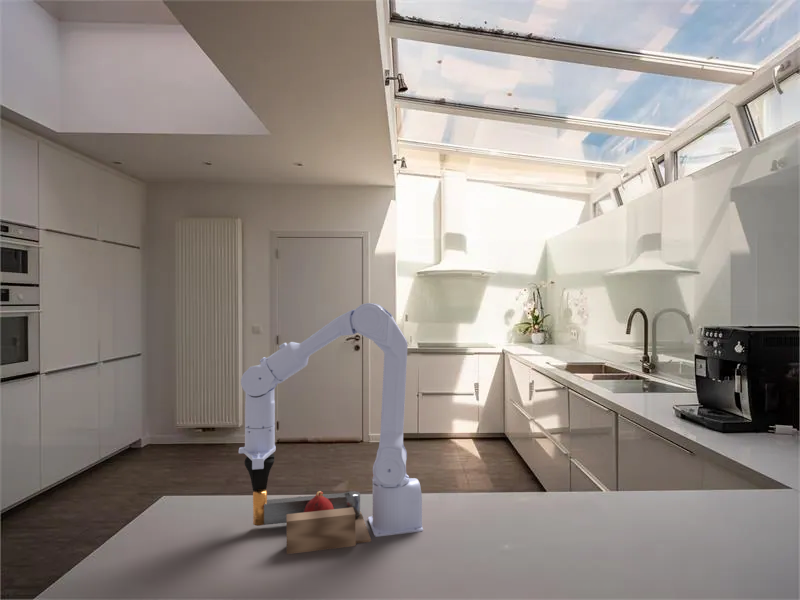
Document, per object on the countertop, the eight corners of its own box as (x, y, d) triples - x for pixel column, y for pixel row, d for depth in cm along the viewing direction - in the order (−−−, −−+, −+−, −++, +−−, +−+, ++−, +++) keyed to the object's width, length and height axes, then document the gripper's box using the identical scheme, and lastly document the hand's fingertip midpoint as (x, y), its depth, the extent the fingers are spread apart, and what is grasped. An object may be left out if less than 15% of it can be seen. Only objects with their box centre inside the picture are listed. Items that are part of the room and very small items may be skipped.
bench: (360, 514, 99) (360, 485, 99) (372, 545, 86) (371, 512, 86) (286, 522, 96) (286, 492, 96) (286, 556, 83) (286, 521, 83)
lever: (359, 510, 99) (359, 480, 99) (361, 516, 96) (361, 486, 96) (253, 520, 94) (253, 489, 94) (252, 527, 91) (252, 495, 91)
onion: (328, 543, 87) (328, 499, 87) (298, 540, 88) (298, 496, 88) (338, 528, 93) (338, 487, 93) (310, 525, 94) (310, 485, 94)
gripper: (242, 417, 101) (241, 482, 101) (235, 436, 87) (234, 511, 87) (276, 416, 103) (276, 479, 103) (275, 433, 89) (274, 507, 89)
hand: (259, 493), depth 95 cm, fingers closed
